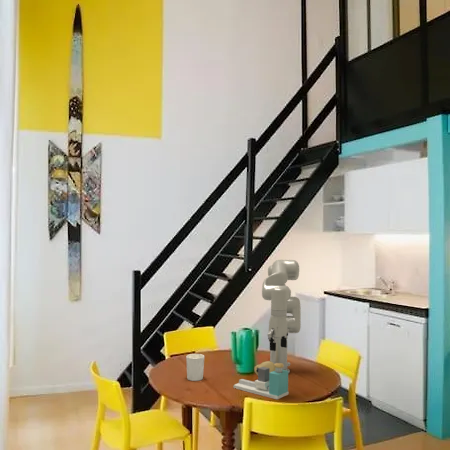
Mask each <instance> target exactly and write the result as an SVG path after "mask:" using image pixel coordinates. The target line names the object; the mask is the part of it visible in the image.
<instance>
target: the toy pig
mask: <svg viewBox="0 0 450 450" xmlns="http://www.w3.org/2000/svg"><path fill="white" fill-rule="evenodd" d="M261 367H266V368H270V370H269V373H270V372H273V371H275V369H276V367H274V363H273V362H271V361H270V360H267V361H263V362H261V363H260V364H256V365H254V368H253V369H254V373H255V375H257V376H258V368H261Z"/></svg>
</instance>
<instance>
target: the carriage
mask: <svg viewBox="0 0 450 450" xmlns="http://www.w3.org/2000/svg"><path fill="white" fill-rule="evenodd" d="M269 370H270V368H266V367H261V368H258V375H257V379H256V380H254V382H255V385H256V388H260V389H264V390H267V386H269Z"/></svg>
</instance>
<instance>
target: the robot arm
mask: <svg viewBox="0 0 450 450" xmlns="http://www.w3.org/2000/svg"><path fill="white" fill-rule="evenodd" d="M299 264H300V263H298V261H297V260H294V259H277V260H275V261H273V263H272V265H269V266H268V267H267V275H268V276H267V277H266V278H265V279H264V280H263V282H262V287H261V296H262V298H263V300H265V301H270V317H269V320H268V332H267V334H266V336H267V340H268V342H269V351H270V352H269V353H270V355H269V358H270V359H269V361H271V362H273V363H274V364H275V363H283V364H284V367H283V368H282V370H287V371H288V375H289V374H290V373H291V372H290V371H291V370H290V369H289V368H288V367H290V366H291V362H289V361H288V336H289V334H298V333H300V331H301V327H302V326H301V325H302V324H301V323H302V322H301V313H302V312H301V311H302V310H301V307H302V306H301V300H300V298H299V297H298V296H292V295H291V294H292V290H291V288H290V286H287V285H286V284H287V282H288V281H297V280H298V278H299V276H300V265H299ZM287 314H290V315H287Z"/></svg>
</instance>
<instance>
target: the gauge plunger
mask: <svg viewBox="0 0 450 450" xmlns="http://www.w3.org/2000/svg"><path fill="white" fill-rule="evenodd" d="M274 367H276V369H275V372H277V373H282V368H283V367H284V364H283V363H275V364H274Z"/></svg>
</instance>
